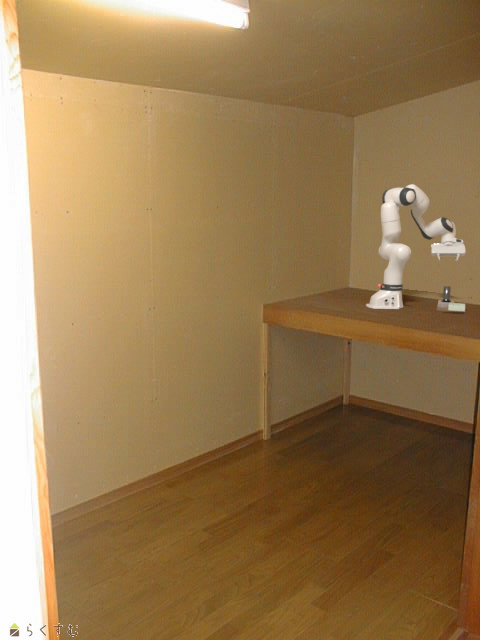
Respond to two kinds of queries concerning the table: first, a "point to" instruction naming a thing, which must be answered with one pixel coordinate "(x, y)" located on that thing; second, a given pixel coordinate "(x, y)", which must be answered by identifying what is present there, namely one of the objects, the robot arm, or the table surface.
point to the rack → (456, 307)
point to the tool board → (450, 310)
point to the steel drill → (446, 294)
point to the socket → (444, 303)
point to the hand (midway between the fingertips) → (448, 260)
